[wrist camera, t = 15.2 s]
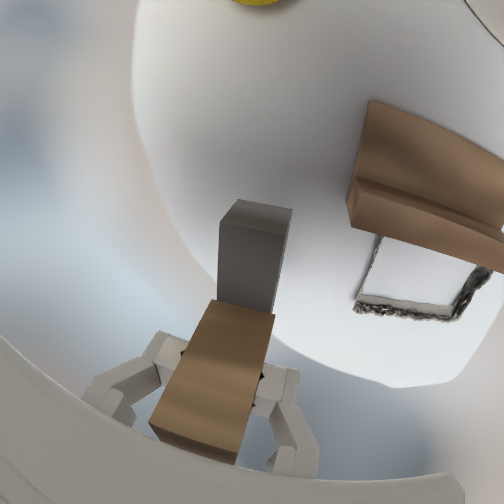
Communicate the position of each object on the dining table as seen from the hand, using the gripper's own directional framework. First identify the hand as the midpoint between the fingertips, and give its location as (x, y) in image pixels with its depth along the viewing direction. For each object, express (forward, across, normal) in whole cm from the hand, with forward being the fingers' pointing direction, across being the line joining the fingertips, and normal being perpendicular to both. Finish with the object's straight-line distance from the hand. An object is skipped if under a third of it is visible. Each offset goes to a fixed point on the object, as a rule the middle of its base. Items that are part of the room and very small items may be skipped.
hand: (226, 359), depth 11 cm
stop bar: (+15, -13, -7) cm, 21 cm away
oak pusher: (+5, 0, +1) cm, 5 cm away
